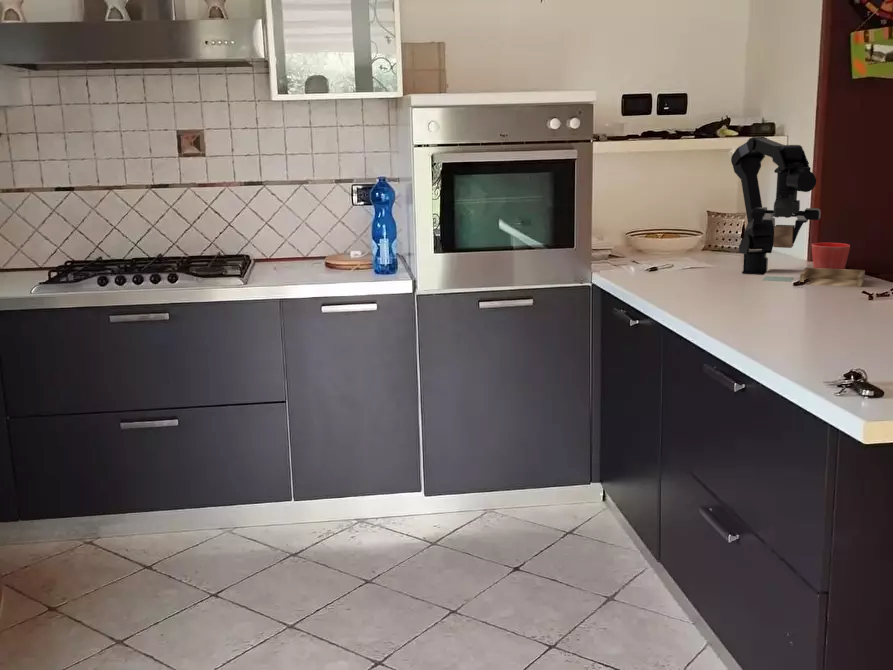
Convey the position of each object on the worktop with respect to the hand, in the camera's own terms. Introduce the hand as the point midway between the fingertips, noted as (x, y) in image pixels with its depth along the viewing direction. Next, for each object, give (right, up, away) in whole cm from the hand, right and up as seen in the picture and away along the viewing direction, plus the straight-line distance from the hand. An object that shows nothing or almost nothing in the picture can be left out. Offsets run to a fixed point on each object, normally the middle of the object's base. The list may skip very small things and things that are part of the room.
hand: (783, 243), depth 265 cm
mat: (-1, -11, +3) cm, 11 cm away
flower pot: (+17, -9, +8) cm, 21 cm away
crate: (+12, -12, -5) cm, 18 cm away
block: (0, -1, 0) cm, 1 cm away
